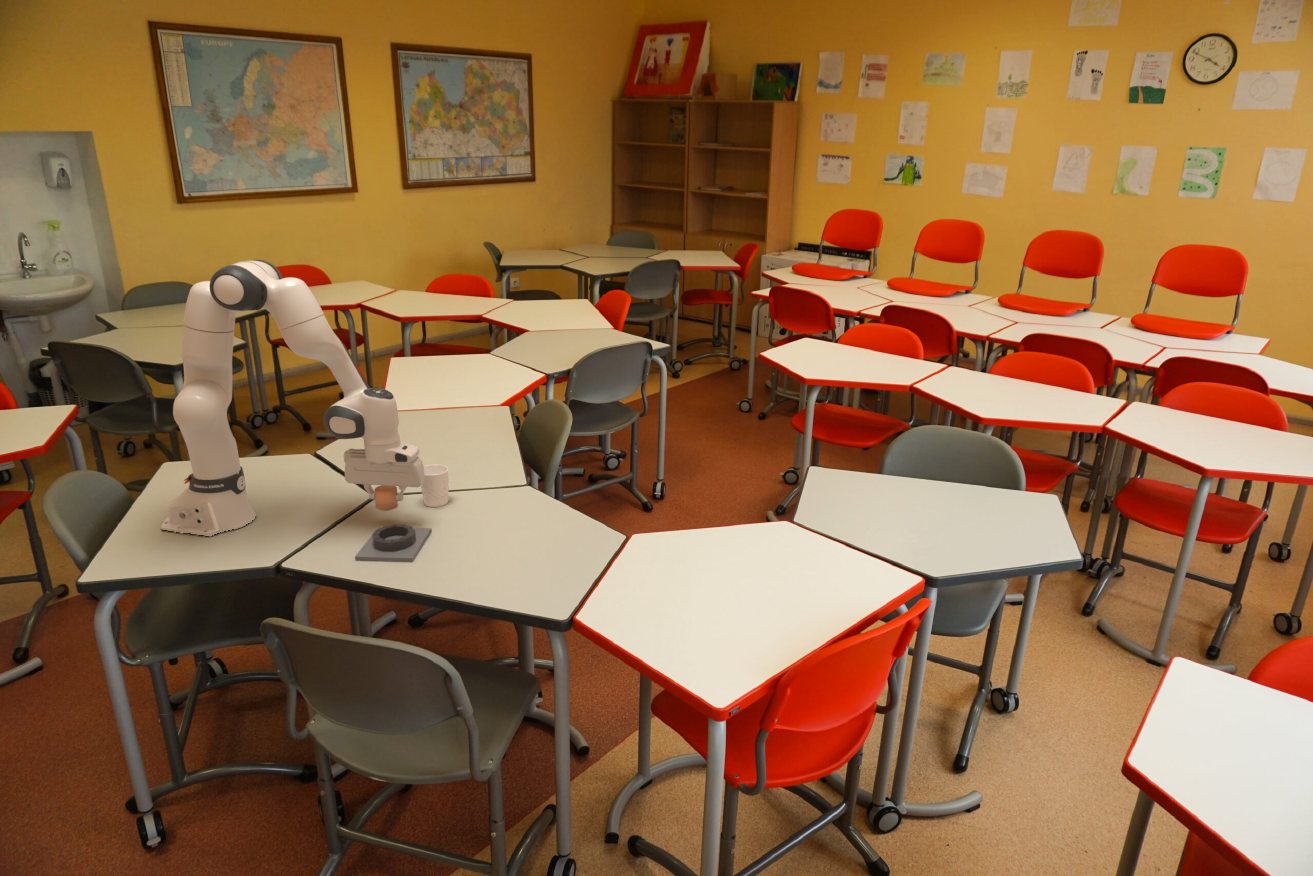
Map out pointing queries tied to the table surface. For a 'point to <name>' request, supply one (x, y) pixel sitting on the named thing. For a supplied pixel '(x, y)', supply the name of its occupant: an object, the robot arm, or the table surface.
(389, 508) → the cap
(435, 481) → the white cup
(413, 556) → the square flange plate
